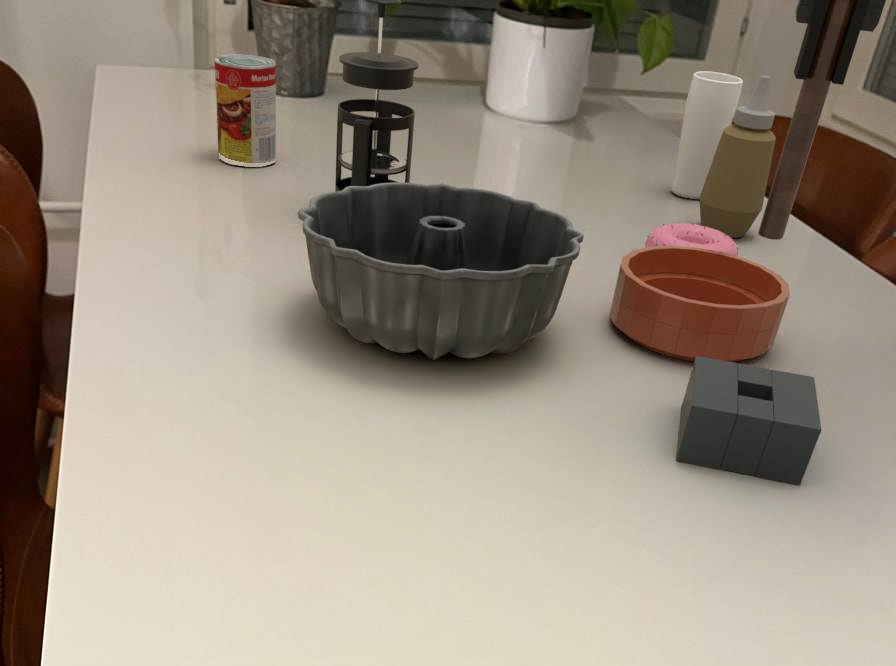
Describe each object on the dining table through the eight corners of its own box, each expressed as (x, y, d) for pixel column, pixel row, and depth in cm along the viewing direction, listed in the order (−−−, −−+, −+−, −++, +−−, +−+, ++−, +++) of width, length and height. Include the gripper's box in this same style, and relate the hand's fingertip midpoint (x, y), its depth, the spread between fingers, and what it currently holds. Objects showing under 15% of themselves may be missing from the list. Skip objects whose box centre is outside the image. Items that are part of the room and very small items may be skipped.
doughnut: (745, 269, 118) (756, 233, 116) (714, 293, 111) (724, 256, 108) (661, 245, 122) (670, 210, 120) (626, 267, 115) (634, 230, 112)
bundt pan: (267, 282, 102) (266, 180, 96) (496, 270, 111) (509, 175, 104) (346, 397, 84) (351, 280, 78) (612, 371, 92) (637, 264, 86)
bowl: (768, 318, 107) (786, 262, 103) (772, 381, 94) (793, 320, 90) (616, 291, 109) (628, 235, 105) (600, 349, 96) (613, 288, 93)
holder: (794, 429, 87) (814, 376, 83) (800, 485, 79) (821, 429, 76) (680, 408, 88) (696, 355, 85) (675, 460, 80) (691, 405, 77)
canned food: (239, 148, 140) (236, 51, 132) (287, 159, 137) (287, 61, 130) (206, 159, 134) (202, 59, 126) (255, 171, 132) (254, 69, 124)
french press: (346, 197, 126) (354, -16, 111) (417, 209, 125) (435, -5, 110) (318, 224, 117) (323, -3, 103) (394, 237, 116) (410, 9, 101)
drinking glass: (662, 196, 139) (690, 76, 129) (668, 184, 144) (695, 68, 134) (710, 205, 138) (742, 85, 128) (714, 193, 143) (745, 76, 133)
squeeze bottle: (686, 218, 132) (725, 66, 120) (746, 224, 132) (790, 73, 121) (697, 238, 126) (739, 80, 114) (759, 245, 126) (807, 87, 114)
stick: (782, 233, 81) (884, -97, 67) (783, 241, 80) (888, -96, 66) (757, 230, 82) (854, -100, 67) (758, 237, 80) (857, -99, 66)
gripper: (829, -392, 56) (716, 73, 71) (1107, -372, 54) (930, 102, 70) (819, -371, 62) (716, 56, 77) (1070, -352, 60) (914, 82, 75)
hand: (818, 77), depth 73 cm, fingers closed on stick, 2 cm apart
